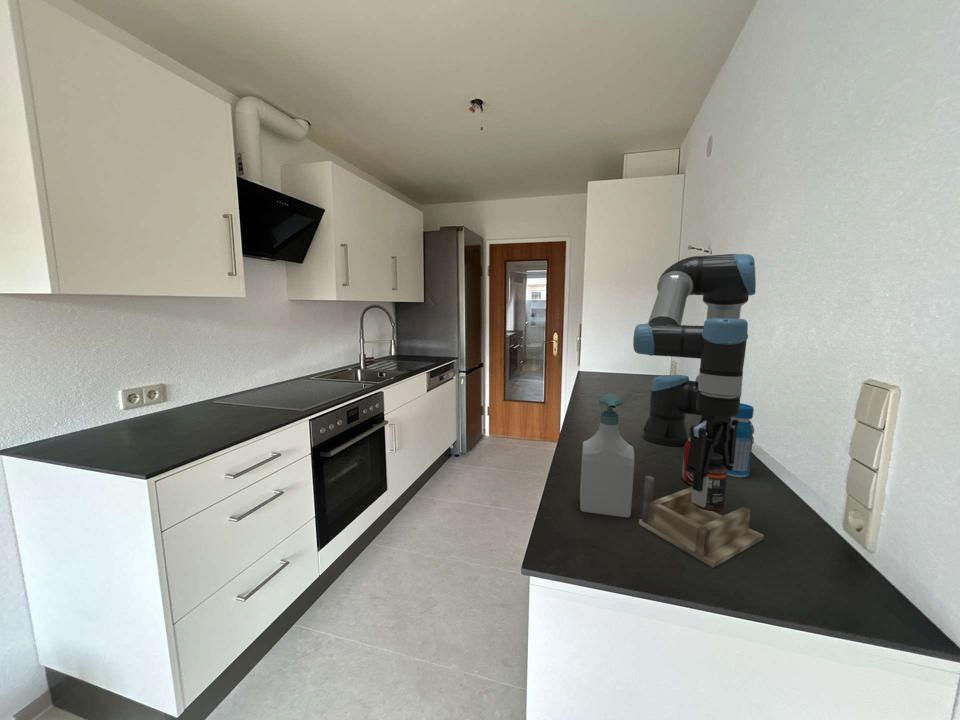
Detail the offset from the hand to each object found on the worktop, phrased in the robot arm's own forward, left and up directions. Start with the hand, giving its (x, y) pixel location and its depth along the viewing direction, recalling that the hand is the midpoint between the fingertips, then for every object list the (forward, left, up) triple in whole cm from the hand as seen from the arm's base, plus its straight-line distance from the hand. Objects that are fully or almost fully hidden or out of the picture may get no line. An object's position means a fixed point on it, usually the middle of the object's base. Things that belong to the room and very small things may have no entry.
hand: (707, 500), depth 81 cm
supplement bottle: (0, 0, -1) cm, 1 cm away
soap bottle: (+13, -16, -7) cm, 22 cm away
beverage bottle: (-36, -13, -7) cm, 39 cm away
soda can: (-20, -14, -7) cm, 25 cm away
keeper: (+2, 0, -7) cm, 7 cm away
